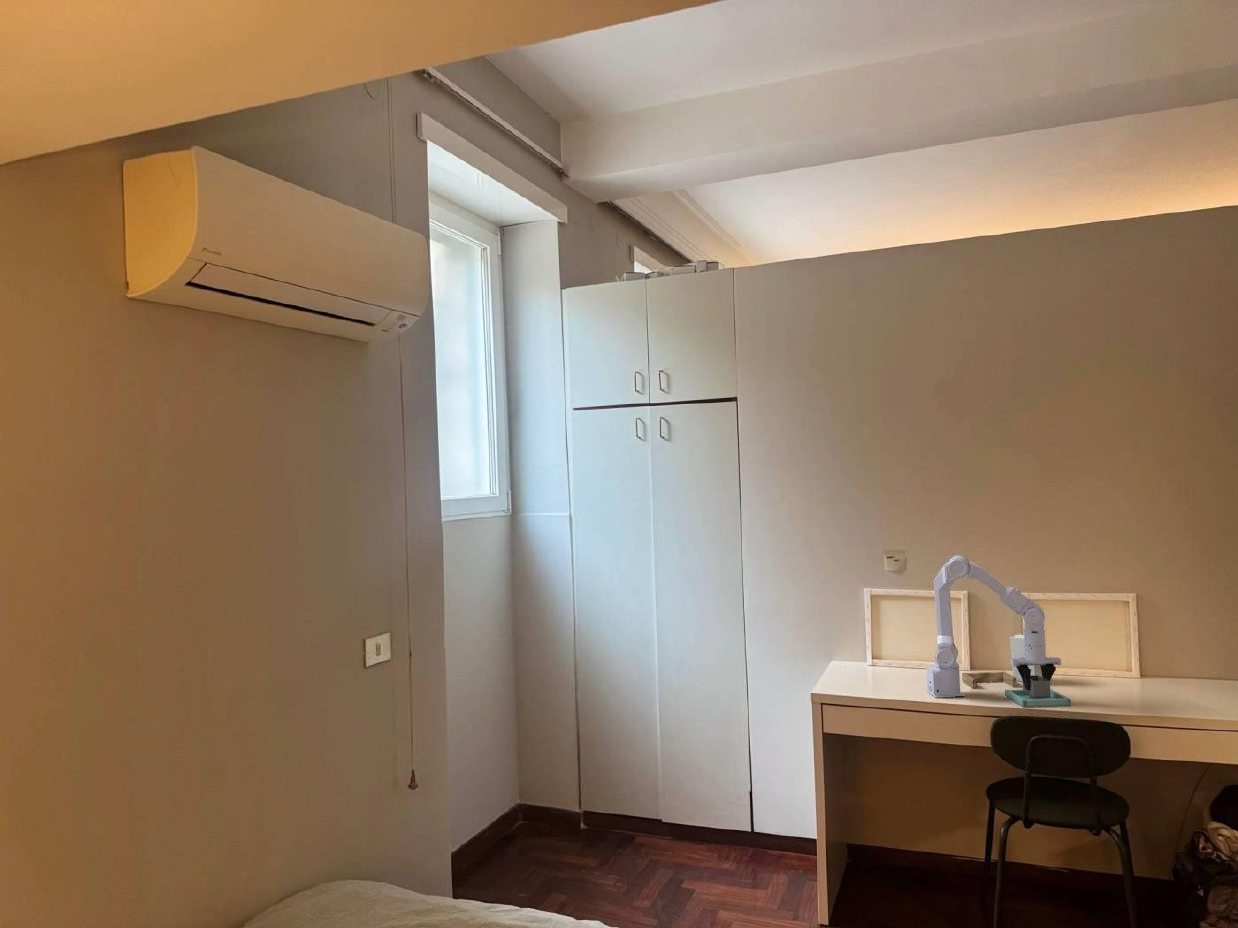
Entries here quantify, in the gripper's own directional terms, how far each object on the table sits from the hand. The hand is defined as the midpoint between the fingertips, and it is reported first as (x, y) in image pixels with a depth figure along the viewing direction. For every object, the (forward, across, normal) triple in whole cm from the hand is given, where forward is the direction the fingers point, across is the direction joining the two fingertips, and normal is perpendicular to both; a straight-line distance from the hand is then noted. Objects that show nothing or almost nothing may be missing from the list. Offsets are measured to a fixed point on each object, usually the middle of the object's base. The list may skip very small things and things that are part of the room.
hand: (1036, 689), depth 253 cm
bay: (+4, +6, -20) cm, 21 cm away
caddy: (+2, 0, 0) cm, 2 cm away
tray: (+4, 0, 0) cm, 4 cm away
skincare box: (+4, -8, -22) cm, 24 cm away
